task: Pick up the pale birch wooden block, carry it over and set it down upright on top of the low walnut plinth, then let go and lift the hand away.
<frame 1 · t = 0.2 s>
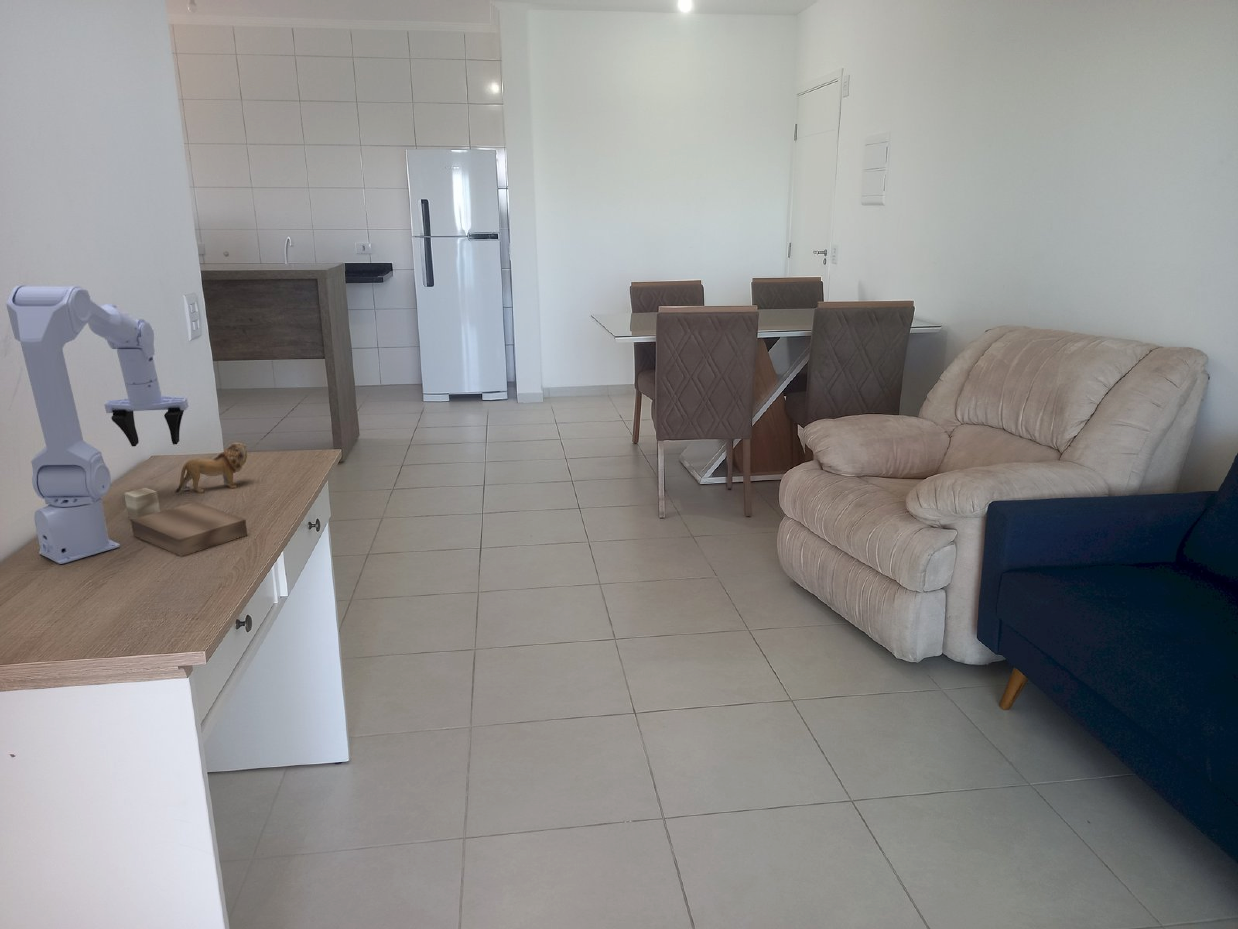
hand: (155, 443, 168), 11 cm above the table, tool pointing down, fingers open, 7 cm apart
birch block: (144, 517, 157), on the table
lion figurine: (216, 488, 175), on the table
walnut plinth: (190, 535, 149), on the table
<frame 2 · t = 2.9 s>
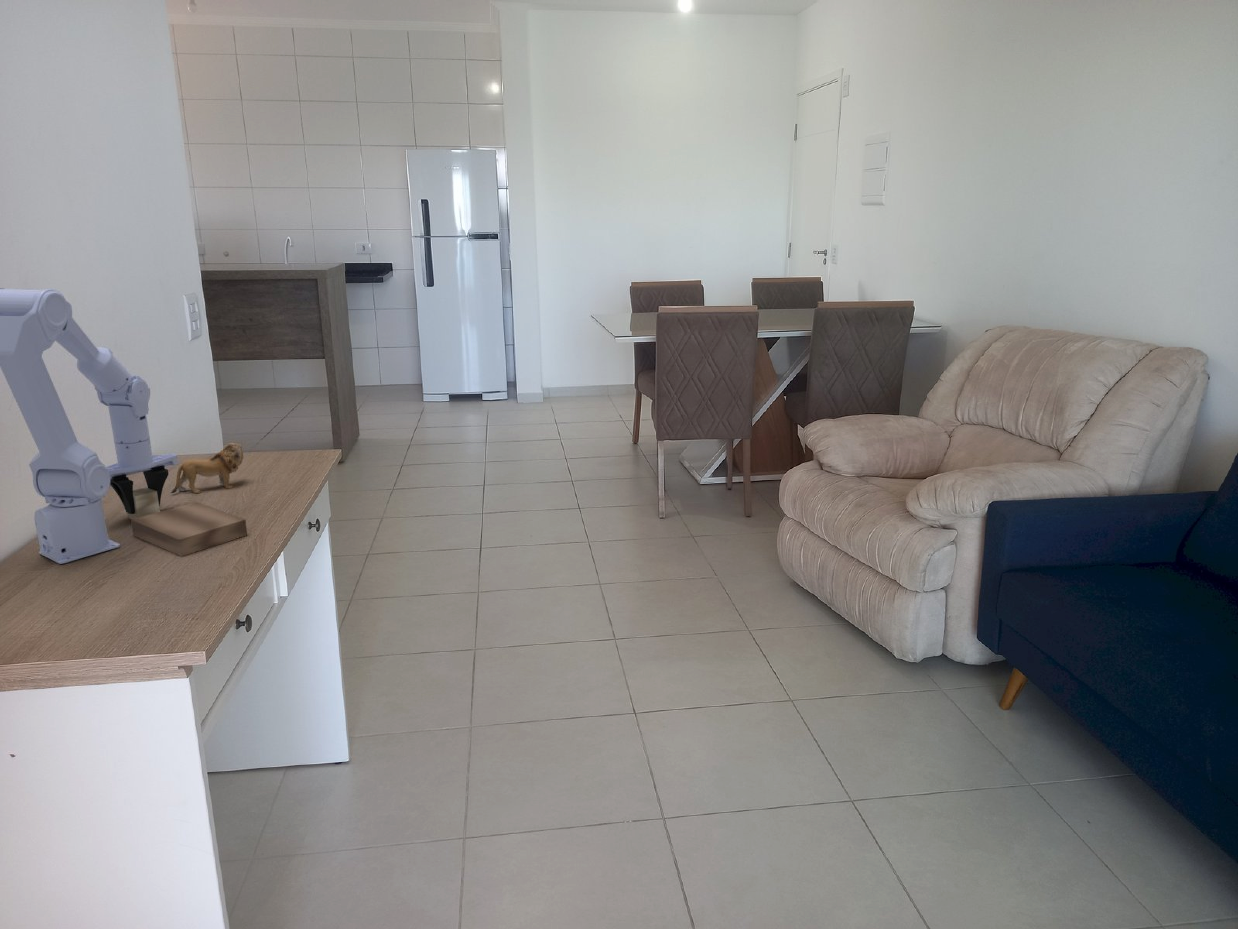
hand: (143, 509, 157), 2 cm above the table, tool pointing down, fingers closed on birch block, 4 cm apart
birch block: (144, 517, 157), on the table, touching gripper
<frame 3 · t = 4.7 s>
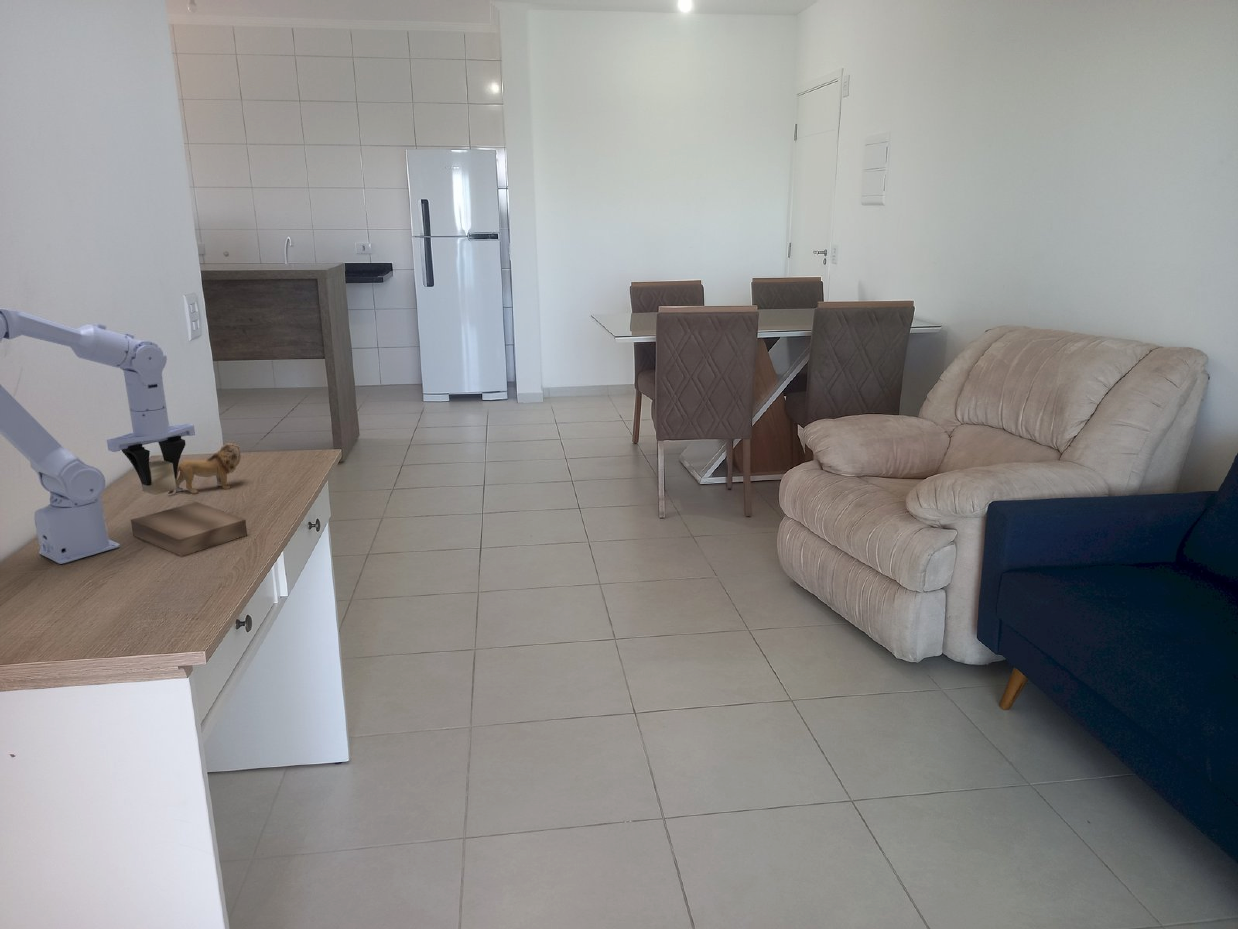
hand: (159, 481, 151), 9 cm above the table, tool pointing down, fingers closed on birch block, 4 cm apart
birch block: (159, 490, 151), point 7 cm above the table, touching gripper
when the fingers open (6 cm above the table, at t = 6.6 s): birch block stays where it is, resting on walnut plinth.
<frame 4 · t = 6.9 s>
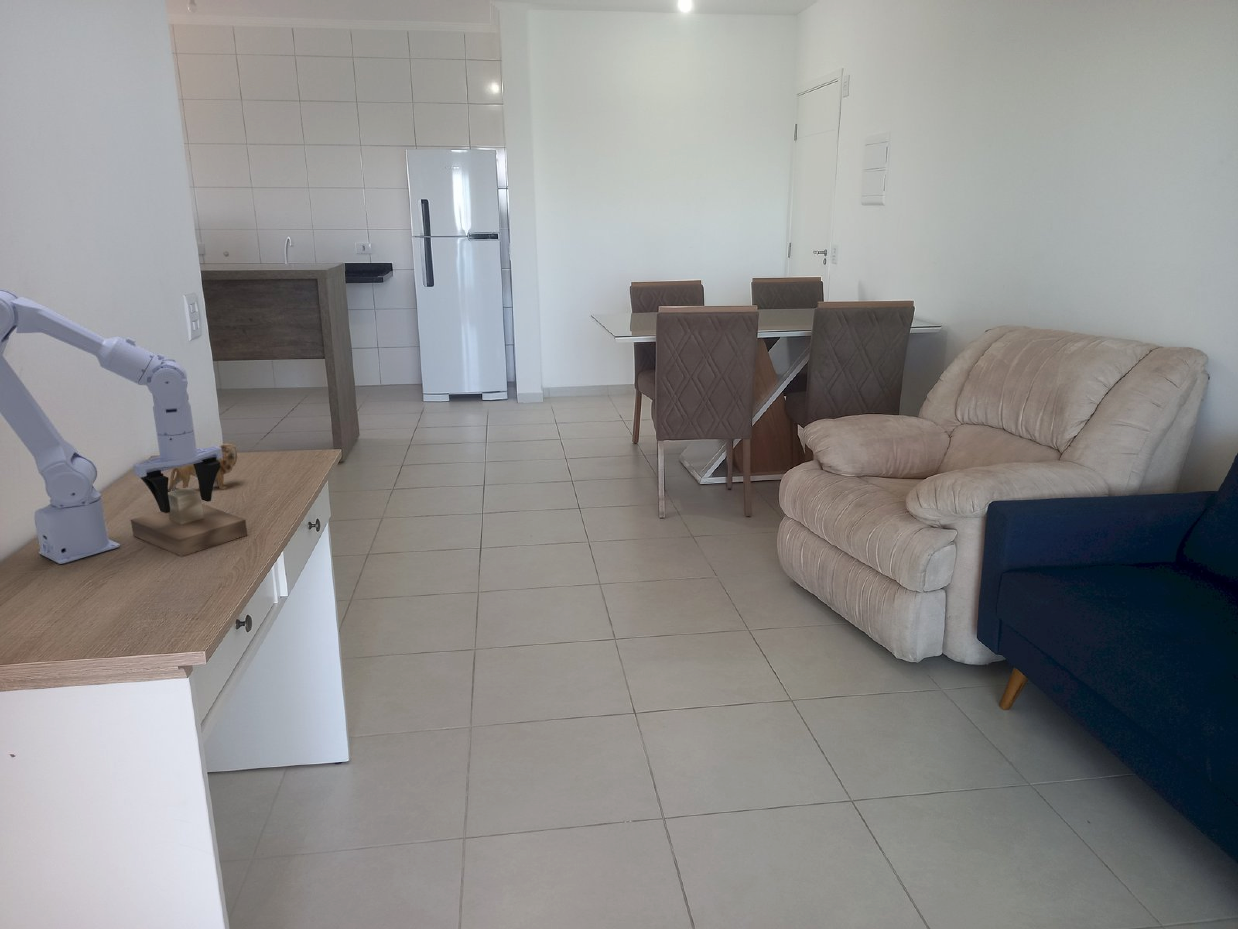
hand: (186, 505, 147), 6 cm above the table, tool pointing down, fingers open, 7 cm apart
birch block: (186, 518, 148), point 3 cm above the table, touching walnut plinth
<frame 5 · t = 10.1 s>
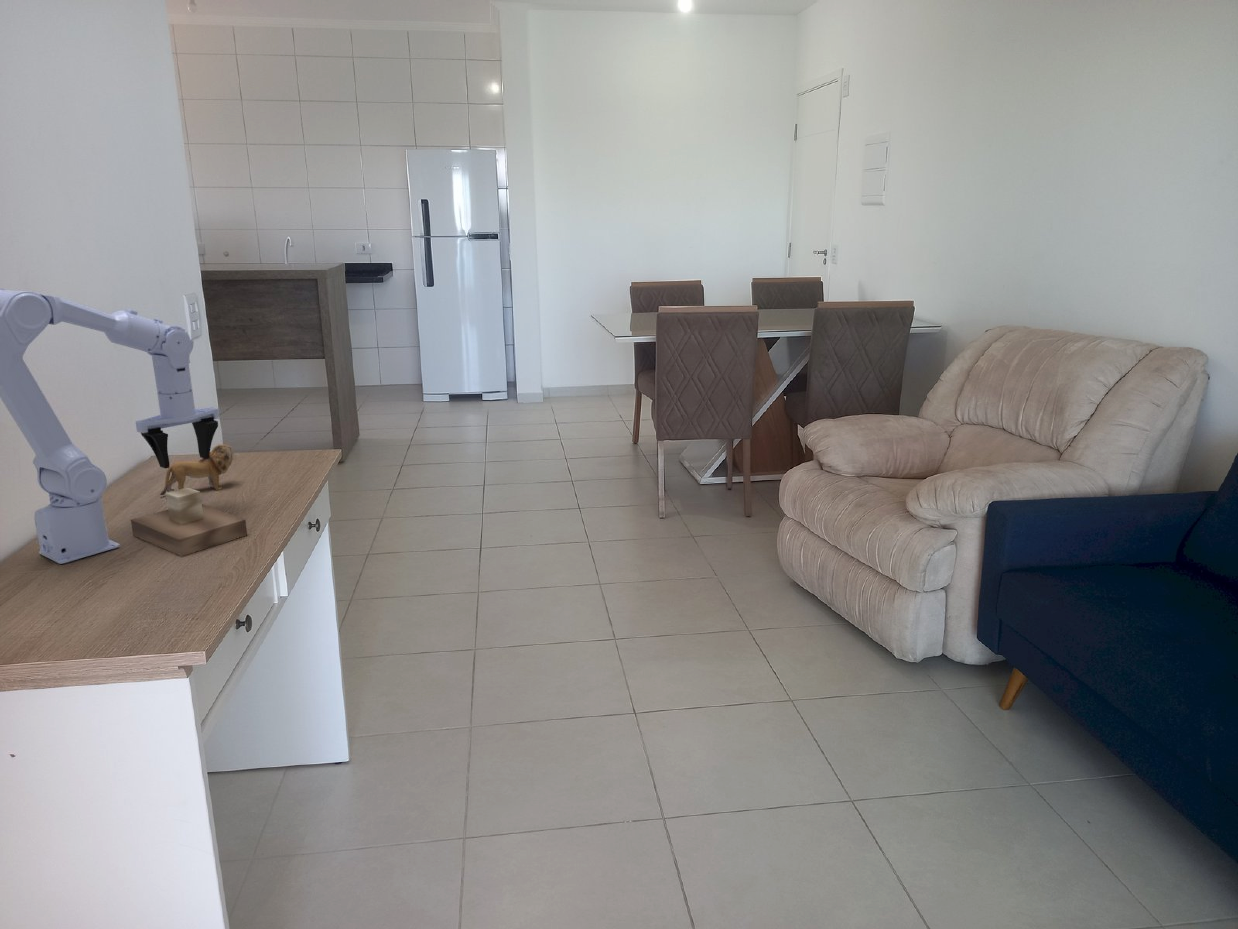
hand: (185, 462, 156), 10 cm above the table, tool pointing down, fingers open, 7 cm apart
at the end: birch block inside the target area on the walnut plinth (0.6 cm from its centre), point 3.0 cm above the walnut plinth's base; birch block tilted 0°; the gripper is holding nothing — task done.
